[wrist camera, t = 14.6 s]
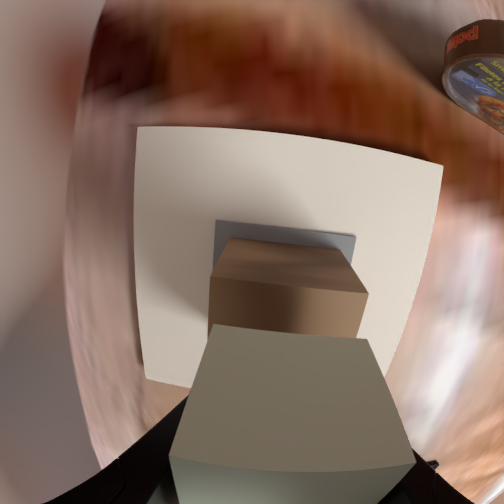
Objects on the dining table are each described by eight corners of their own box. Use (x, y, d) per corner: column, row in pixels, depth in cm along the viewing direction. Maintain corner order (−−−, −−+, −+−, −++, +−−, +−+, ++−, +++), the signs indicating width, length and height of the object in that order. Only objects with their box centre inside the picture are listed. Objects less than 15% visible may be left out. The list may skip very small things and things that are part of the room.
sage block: (367, 338, 8) (416, 462, 4) (329, 432, 10) (341, 533, 5) (213, 323, 8) (168, 455, 4) (210, 422, 10) (185, 525, 5)
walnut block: (340, 249, 15) (368, 293, 10) (319, 341, 16) (332, 403, 12) (230, 237, 15) (209, 276, 10) (223, 331, 16) (206, 392, 12)
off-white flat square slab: (434, 164, 14) (445, 166, 13) (370, 392, 19) (373, 403, 18) (145, 128, 14) (136, 126, 13) (150, 369, 19) (144, 380, 18)
